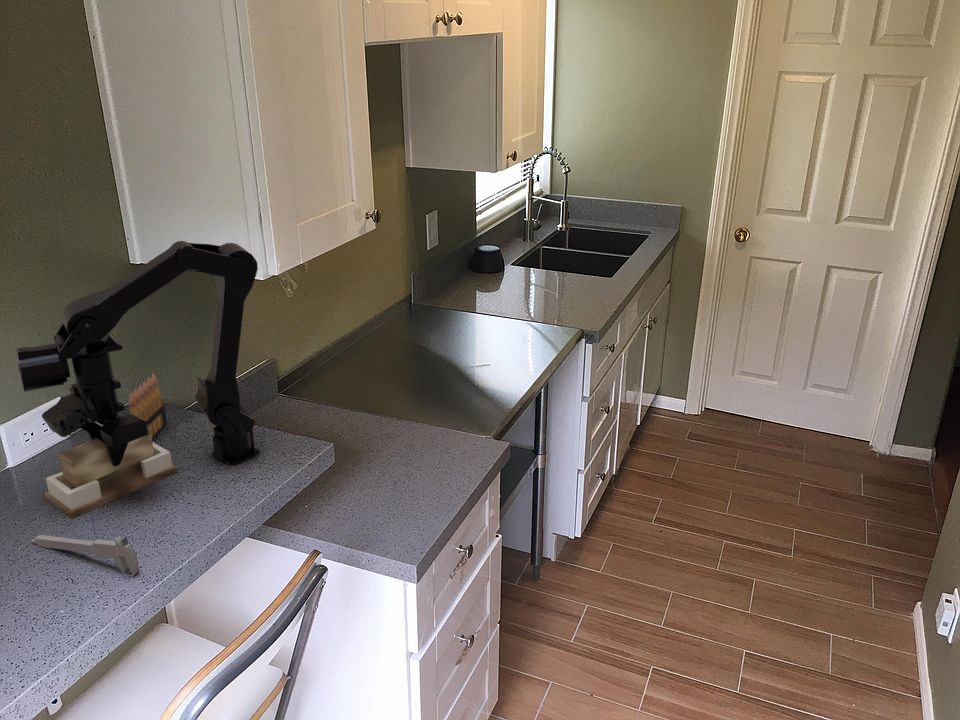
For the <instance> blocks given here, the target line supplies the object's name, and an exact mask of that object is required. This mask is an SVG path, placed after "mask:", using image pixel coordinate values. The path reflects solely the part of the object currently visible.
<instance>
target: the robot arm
mask: <svg viewBox="0 0 960 720" xmlns="http://www.w3.org/2000/svg"><path fill="white" fill-rule="evenodd" d="M258 269H259V268H258V261H257V260H256V258H255V257H254V255H252V253H250V252H249V251H247V250H246V249H245V248H244V247H242V246H241V245H239V244H238V243H235V242H225V243H224V244H222V245H217V244H212V243H211V244H210V243H197V242H195V243H194V242H189V241H185V240H178V241H176V242H173V243H172V244H171V245H170V247H168V248H167V249H166V250H165V251H163V252H162V253H160V254H159V255H157V256H155V257H154V258H153V259H151V260H149V261H148V262H146V263H145V264H143V265H142V266H140V267H139V268H137V269H136V270H133V272H131V273H129V274H128V275H127V276H125V277H123V278H122V279H120V280H119V281H118V282H116V283H115V284H112V286H109V287H108V288H106V289H103V290H99V291H95V292H91V293H88V294H87V295H84V296H82V297H80V298H78V299H76V300H73V301H71V302H69V303H68V304H67V305H66V306H65V307H64V309H63V312H62V323H61V325H60V326H59V328H58V330H57V331H56V333H55V335H54V336H53V338H52V341H53V343H51V344H49V343H48V344H44V345H37V346H23V347H18V348H16V354H17V359H18V364H17V366H18V370H19V374H20V379H21V383H22V388H23V392H24V393H25V392H32V391H36V390H42V389H47V388H53V387H58V386H63V385H65V383H66V382H68V379H67V378H71V374H70V367H69V363H68V360H69V359H71V365H72V369H73V374H74V375H73V376H74V381H75V383H73V384H70V386H71V387H70V388H69V390H70V394H67V395H65V396H64V395H63V396H61V397H60V399H59V400H58V401H57V402H56V404H54V405H52V406H51V407H50V408H48V409H47V410H45V411H44V412H43V413H42V414H41V418H42V420H43V421H44V422H45V423H46V424H47V426H48V428H49V429H50V430H51V432H53V433H55V434H57V436H59V437H61V438H65V437H68V436H69V435H71V434H72V433H76V432H77V431H79V430H83V431H84V432H85V434H86V435H87V437H88V439H89V441H91V440H94V439H98V440H100V441H101V442H103V443H105V445H106V448H107V451H108V454H109V457H110V460H111V462H112V464H113V466H118V465H120V463H121V461H122V458H123V456H124V453H125V450H126V448H127V445H128V443H129V442H131V441H133V440H136V439H138V438H141V437H143V436H146V435H148V433H149V429H148V423H147V422H145V421H144V420H142V419H140V418H138V417H136V416H134V415H132V414H130V413H128V414H125V415H123V416H121V415H119V414H118V413H119V412H122V411H125V410H126V408H125V404H124V403H122V402H120V401H119V396H118V392H117V390H119V389H120V388H121V389H122V384H121V381H119V380H117V379H115V374H114V368H113V362H112V356H111V352H118V351H122V350H123V348H124V347H123V345H122V343H121V342H120V340H119V339H117V338H115V337H114V336H113V335H111V334H110V332H111V331H112V330H114V328H115V327H117V325H118V324H119V322H120V321H121V319H122V318H123V317H124V315H125V314H126V313H128V312H129V311H130V310H131V309H132V308H134V307H136V306H137V305H138V304H140V303H142V302H143V301H144V300H146V299H147V298H148V297H150V296H152V295H153V294H155V293H156V292H157V291H159V290H160V289H163V287H165V286H167V284H169V283H171V282H172V281H174V280H175V279H176V278H178V277H179V276H181V275H183V274H184V273H185V272H187V271H197V272H201V273H204V274H209V275H213V276H214V282H215V286H216V290H217V291H216V292H217V304H216V312H215V313H216V314H215V323H214V334H213V342H212V353H211V362H210V369H209V372H208V373H207V376H206V377H205V378H201V377H199V378H197V392H196V394H195V396H194V399H195V400H196V401H197V403H198V406H199V407H200V409H201V411H202V412H203V413H204V415H205V417H206V418H207V419H208V421H209V422H210V423H211V424H212V425H213V426H214V427H213V436H212V437H211V438H212V445H213V450H212V451H211V456H212V457H214V458H216V459H218V460H220V461H222V462H224V463H225V464H227V465H229V466H235V465H237V464H239V463H241V462H244V461H247V460H249V459H251V458H253V457H255V456H257V455H259V454H260V453H261V450H260V449H259V448H256V446H255V440H254V439H255V438H254V426H255V423H256V420H255V419H254V417H252V416H251V414H250V413H249V412H248V411H247V409H246V408H245V407H244V406H243V404H242V402H241V396H240V391H239V386H238V381H237V371H238V370H237V369H238V361H239V351H240V344H241V334H242V327H243V316H244V308H245V302H246V300H247V297H248V296H249V294H250V292H251V290H252V289H253V287H254V283H255V280H256V277H257V273H258Z"/></svg>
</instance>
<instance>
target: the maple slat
mask: <svg viewBox="0 0 960 720" xmlns="http://www.w3.org/2000/svg"><path fill="white" fill-rule="evenodd" d="M148 429H149V428H148ZM153 443H154V442H152V436H151V430H150V429H149V433H148V435H146V436H143V437H141V438H138V439H136V440H133V441H131V442H129V443H128V445H127V448H126V450H125V453H124V456H123V458H122V461H121V463H120V465H118V466H113V464H112V462H111V460H110V457H109V454H108V451H107V448H106V445H105V443H103V442H101V441H100V440H98V439H94V440H89V441H86V442H84V443H81V444H78V445H75V446H74V447H71V448H68V449H66V450H63V451H61V452H58V453H57V455H58V457H59V463H60V467H61V472H62V473H63V478H64V480H65V481H67V482H68V483H70V484H71V485H73V486H74V487H76V488H77V487H79V486H82V485H84V484H87V483H89V482H91V481H94V480H96V479H98V478H101V477H103V476H105V475H108V474H110V473H112V472H115V471H117V470H119V469H122V468H124V467H127V466H129V465H131V464H134V463H136V462H138V461H141V460H143V459H145V458H148V457H150V456H152V455H154V449H153Z"/></svg>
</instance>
